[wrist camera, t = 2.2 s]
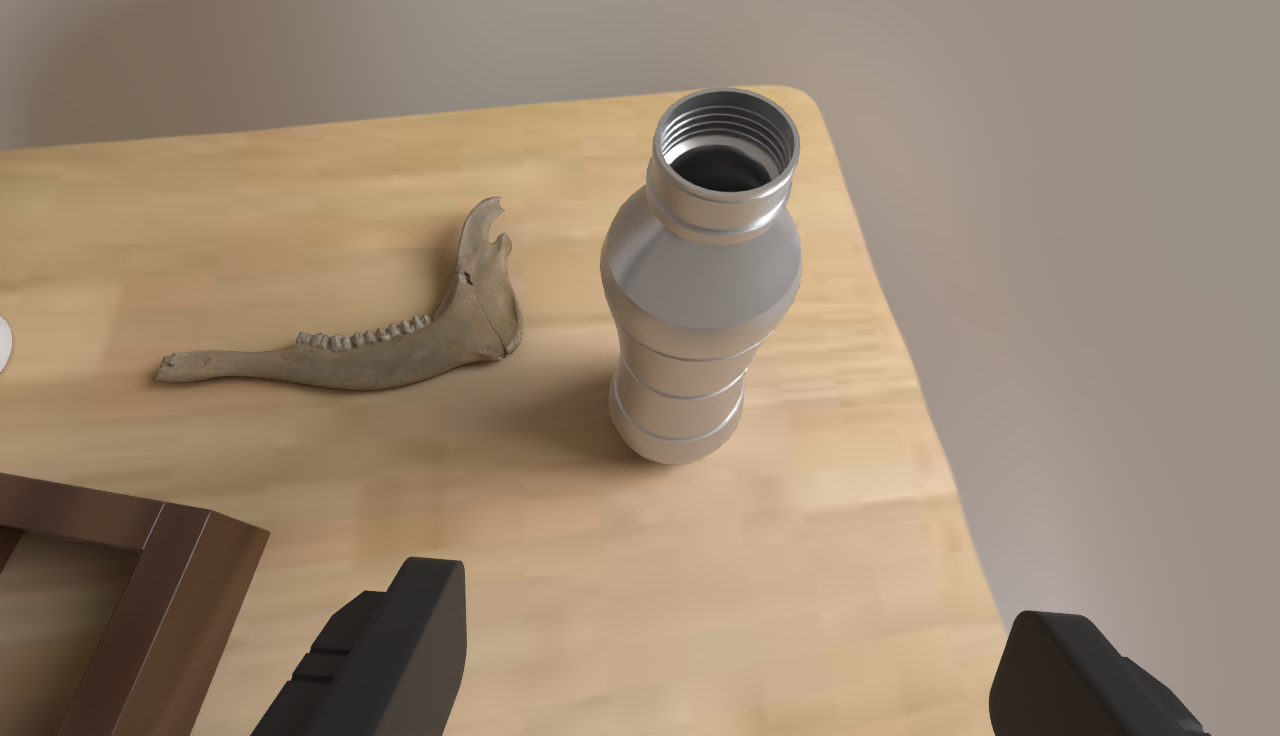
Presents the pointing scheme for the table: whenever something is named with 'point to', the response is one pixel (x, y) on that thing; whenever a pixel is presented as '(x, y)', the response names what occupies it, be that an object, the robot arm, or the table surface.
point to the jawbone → (394, 331)
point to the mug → (4, 343)
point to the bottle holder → (144, 599)
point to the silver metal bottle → (700, 271)
